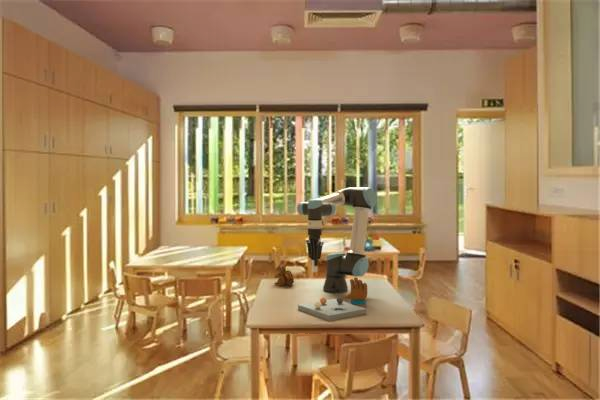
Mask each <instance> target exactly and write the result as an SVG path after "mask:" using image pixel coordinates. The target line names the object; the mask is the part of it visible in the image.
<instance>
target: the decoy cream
mask: <svg viewBox="0 0 600 400" xmlns="http://www.w3.org/2000/svg"><path fill="white" fill-rule="evenodd" d="M315 302H316V303H315V307H316V308H317V309H319V308H320V307H321V303H320V302H318V301H315Z"/></svg>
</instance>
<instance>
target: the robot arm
mask: <svg viewBox="0 0 600 400" xmlns="http://www.w3.org/2000/svg"><path fill="white" fill-rule="evenodd" d="M376 204H377V194H376V191H375V189H373V188H372V187H367V186H363V187H362V186H360V187H358V186H357V187H354V186H352V187H351V186H349V187H345V188H342V189H340V190H336V191H334V192H333V193H331V194H328V195H325V196H322V197H318V198H315V199H314V198H313V199H309V200H307V201H300V202H298V203H297V205H296V206H297V207H296V209H297V213H298V214H299V215H301V216H307V235H308V239H306V240H305V243H306V245H307V246H306V247H307V254H308V258H309V259H310V262H311V263H310V264H311V273H318V265H319V264H318V263H319V260H321V259H322V258H321V257H322V252H323V251H322V250H323V245H324V241H321V236H322V233H323V229H322V228H323V220H322V219H323V217H330V216H333V215H335V213H336V212H337V211H336V209H337V208H336V207H342V206H350V207H352V209H353V211H354V213H353V219H352V220H353V221H352V228H351V235H350V243H349V250H347V251H346V252H332V253H328V254H326V259H325V272H326V273H325V280H324V284H323V286H322V290H323V291H324V292H325V293H338V294H339V293H346V292H348V290H349V289H348V288H349V287H348V284H347V280H346V276H351V277H354V278H355V277H360V278H361V277H363V276H365V274H367V272H368V270H369V266H370V265H369V264H370V263H369V259H368V258H367V255H366V253H365V244H366V236H367V229H368V220H369V213H371V212H372V209H373V208H374V207H376Z"/></svg>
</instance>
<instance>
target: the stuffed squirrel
mask: <svg viewBox="0 0 600 400" xmlns="http://www.w3.org/2000/svg"><path fill="white" fill-rule="evenodd" d="M275 271H276V272H277V273H276V274H274V275H273V276H274V278H275V279H277V281H276V282H274V284H276V285H275V286H292V285H294V283H295V279H294V275H293V272H292V271H291V270H289V269H287V264H282V263H281V264H279V265H277V266H276V269H275Z"/></svg>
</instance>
